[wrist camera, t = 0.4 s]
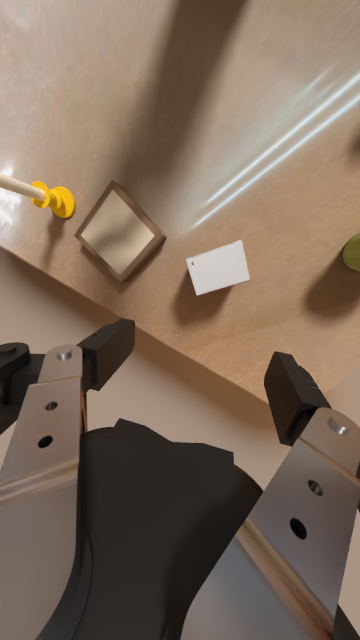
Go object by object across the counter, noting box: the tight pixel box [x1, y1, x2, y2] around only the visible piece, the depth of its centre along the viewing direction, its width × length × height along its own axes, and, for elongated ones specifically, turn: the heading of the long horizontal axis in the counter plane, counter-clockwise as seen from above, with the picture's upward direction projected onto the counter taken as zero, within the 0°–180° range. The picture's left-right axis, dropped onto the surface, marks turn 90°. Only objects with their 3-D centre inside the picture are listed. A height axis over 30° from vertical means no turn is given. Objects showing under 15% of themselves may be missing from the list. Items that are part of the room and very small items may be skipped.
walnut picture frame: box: [74, 180, 167, 283], centre depth 35 cm, size 12×12×3 cm
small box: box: [186, 240, 250, 296], centre depth 31 cm, size 8×6×10 cm
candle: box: [0, 174, 75, 218], centre depth 29 cm, size 5×5×16 cm
